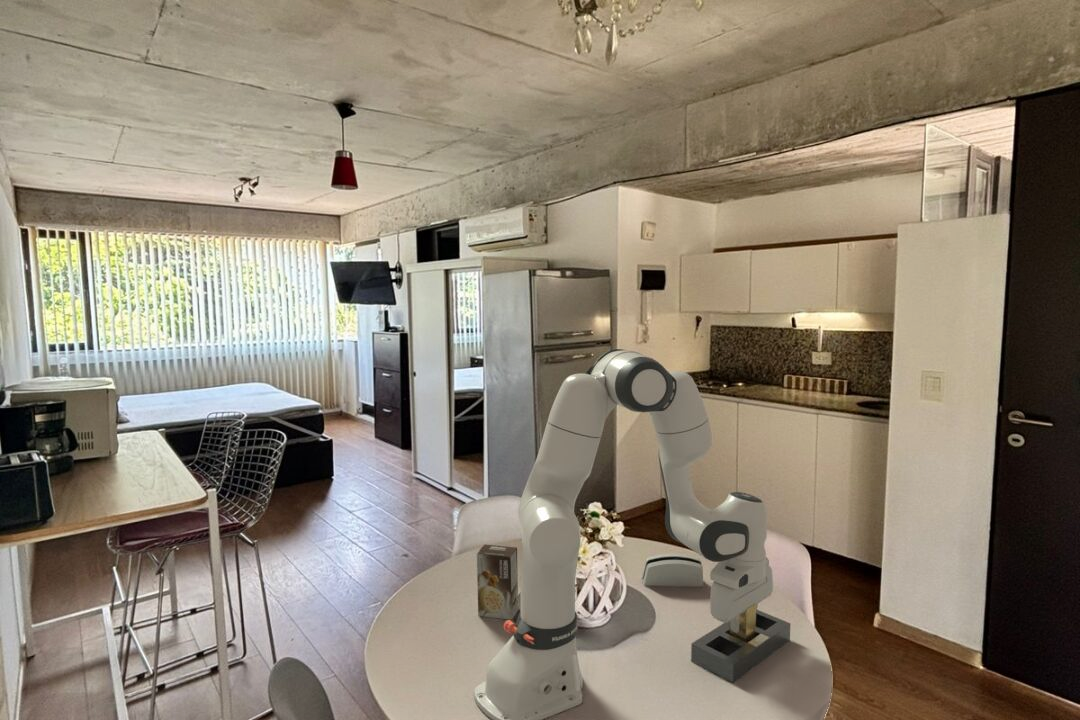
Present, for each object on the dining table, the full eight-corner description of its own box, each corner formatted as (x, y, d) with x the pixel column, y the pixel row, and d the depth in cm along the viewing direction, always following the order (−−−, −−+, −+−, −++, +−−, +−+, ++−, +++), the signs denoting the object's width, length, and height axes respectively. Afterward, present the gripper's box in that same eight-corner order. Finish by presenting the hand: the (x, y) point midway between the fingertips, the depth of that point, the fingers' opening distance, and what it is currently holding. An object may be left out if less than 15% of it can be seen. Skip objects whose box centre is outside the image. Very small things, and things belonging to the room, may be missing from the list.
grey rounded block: (700, 578, 166) (703, 550, 162) (703, 591, 162) (707, 563, 158) (640, 577, 167) (642, 549, 163) (642, 590, 162) (644, 562, 158)
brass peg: (745, 649, 128) (746, 609, 127) (729, 641, 131) (730, 602, 130) (755, 642, 130) (756, 603, 130) (738, 635, 133) (739, 596, 133)
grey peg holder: (732, 683, 119) (733, 664, 119) (691, 661, 127) (691, 643, 126) (789, 640, 135) (790, 622, 134) (749, 622, 142) (750, 606, 142)
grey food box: (519, 608, 150) (519, 546, 148) (512, 620, 143) (511, 557, 142) (485, 603, 152) (484, 543, 150) (476, 616, 146) (475, 553, 144)
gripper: (755, 549, 138) (753, 605, 139) (705, 574, 125) (703, 636, 126) (781, 557, 133) (779, 616, 135) (732, 584, 120) (730, 649, 121)
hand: (742, 626), depth 130 cm, fingers closed on brass peg, 4 cm apart
